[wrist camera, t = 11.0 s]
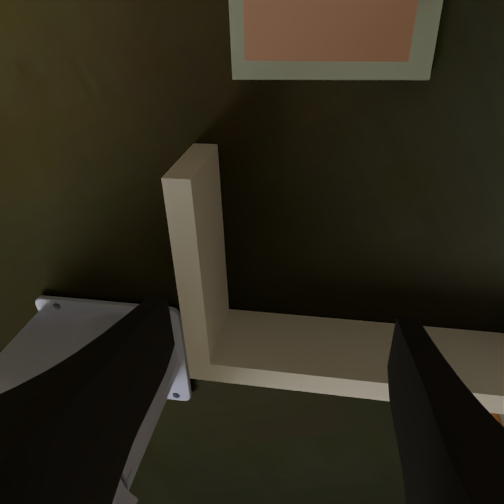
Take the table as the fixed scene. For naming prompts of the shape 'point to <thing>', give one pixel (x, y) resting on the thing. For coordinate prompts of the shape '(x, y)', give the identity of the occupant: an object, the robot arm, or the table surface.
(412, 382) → the robot arm
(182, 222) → the u-shaped wall
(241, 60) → the mat
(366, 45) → the block
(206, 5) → the table surface
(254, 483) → the table surface
